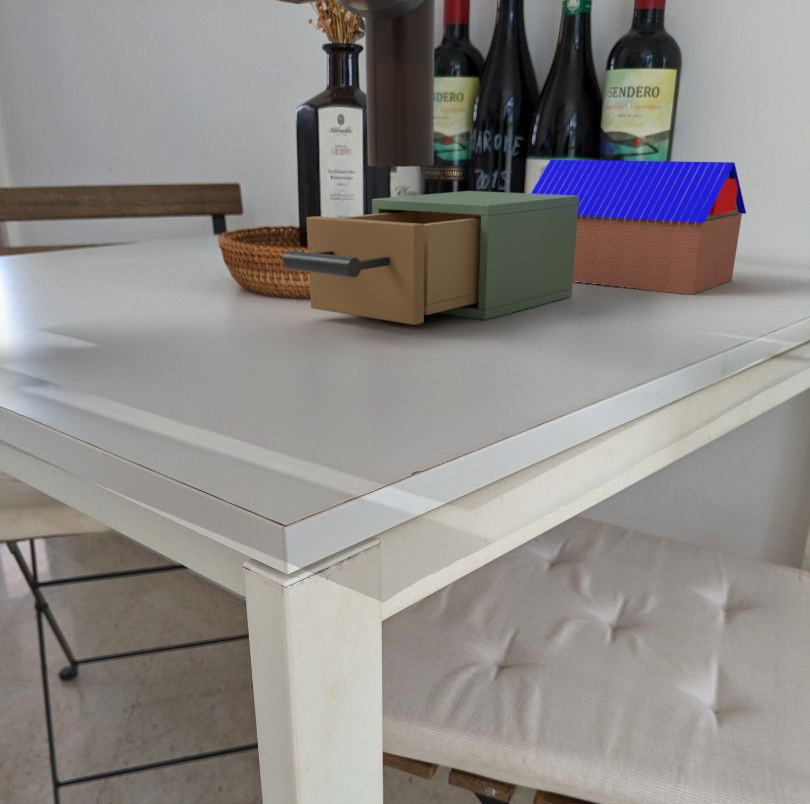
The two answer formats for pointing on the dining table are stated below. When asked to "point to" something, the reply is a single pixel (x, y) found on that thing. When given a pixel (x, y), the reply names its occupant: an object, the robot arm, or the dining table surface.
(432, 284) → the drawer
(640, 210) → the house
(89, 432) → the dining table surface
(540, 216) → the cabinet
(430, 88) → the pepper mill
